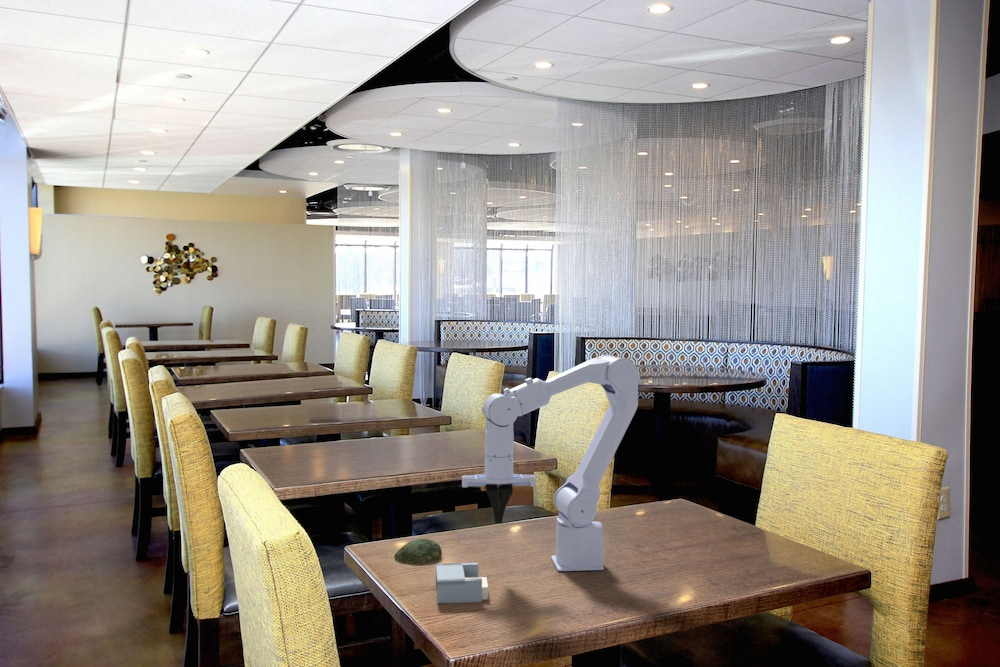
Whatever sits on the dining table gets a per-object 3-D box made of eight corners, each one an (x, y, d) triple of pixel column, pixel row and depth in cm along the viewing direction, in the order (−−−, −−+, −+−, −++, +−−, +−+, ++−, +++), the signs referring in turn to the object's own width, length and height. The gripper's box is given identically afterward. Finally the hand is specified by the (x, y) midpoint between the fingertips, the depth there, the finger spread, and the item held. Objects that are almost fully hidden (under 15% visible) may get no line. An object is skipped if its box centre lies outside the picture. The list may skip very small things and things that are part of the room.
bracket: (477, 583, 149) (477, 562, 149) (481, 602, 140) (482, 580, 140) (435, 584, 148) (436, 563, 148) (437, 603, 139) (437, 581, 139)
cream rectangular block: (486, 590, 146) (486, 577, 146) (487, 601, 141) (487, 587, 141) (443, 591, 146) (444, 577, 145) (443, 601, 141) (443, 587, 140)
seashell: (403, 528, 169) (447, 533, 166) (404, 546, 169) (447, 551, 167) (386, 547, 159) (432, 552, 157) (386, 566, 160) (432, 571, 157)
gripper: (532, 450, 159) (530, 515, 160) (461, 450, 157) (460, 516, 158) (537, 457, 152) (536, 525, 153) (463, 458, 150) (462, 527, 151)
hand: (498, 521), depth 155 cm, fingers closed
